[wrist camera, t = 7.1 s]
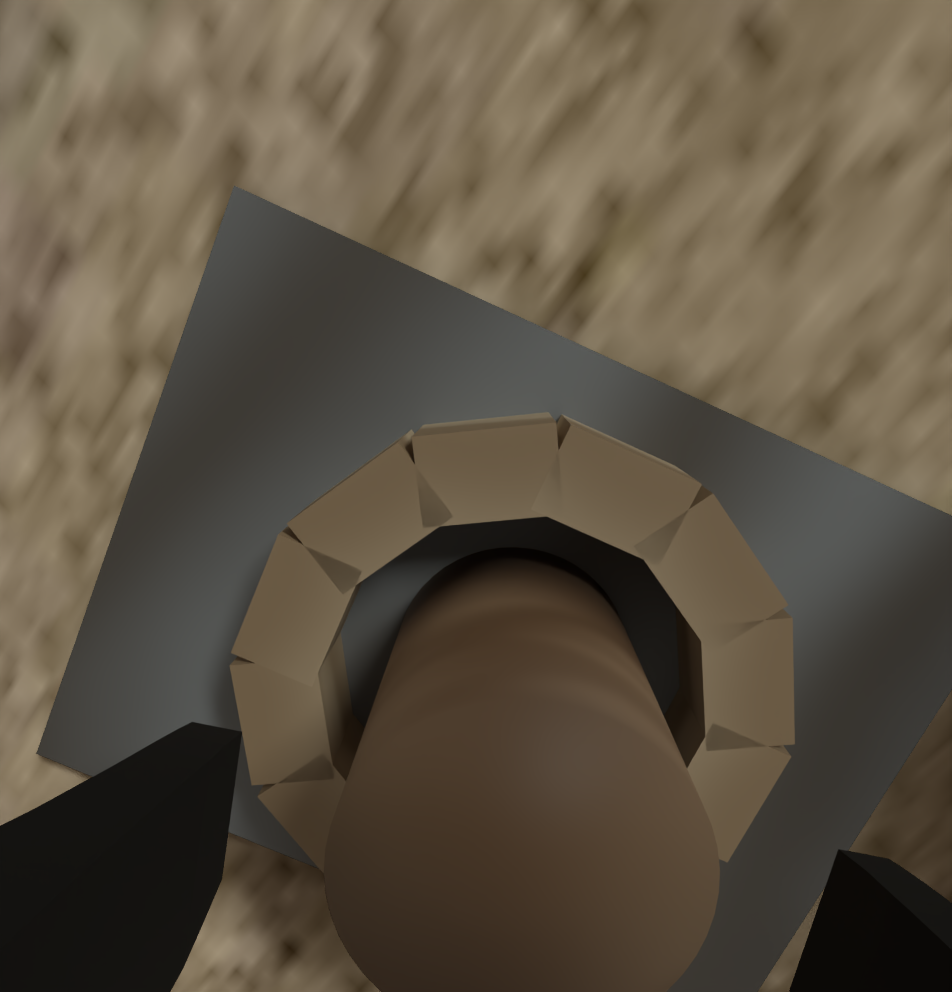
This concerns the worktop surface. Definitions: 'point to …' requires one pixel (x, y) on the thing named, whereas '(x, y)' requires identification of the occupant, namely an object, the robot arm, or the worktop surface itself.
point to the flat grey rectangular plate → (488, 525)
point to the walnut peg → (519, 798)
